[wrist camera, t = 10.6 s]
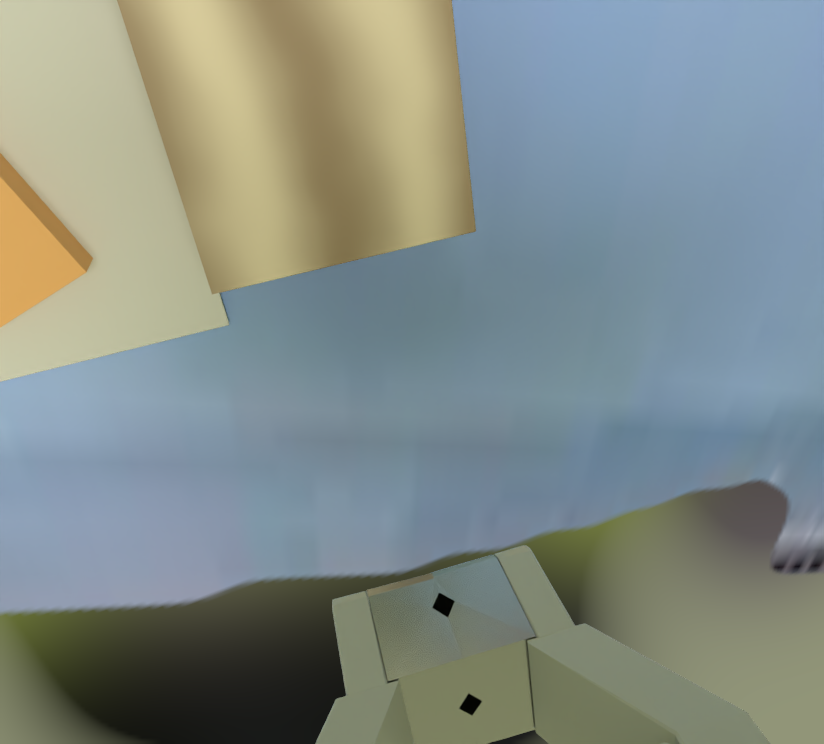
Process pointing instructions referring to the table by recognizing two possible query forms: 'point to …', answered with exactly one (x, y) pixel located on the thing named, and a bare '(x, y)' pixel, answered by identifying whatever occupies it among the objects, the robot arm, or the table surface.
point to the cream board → (95, 188)
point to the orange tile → (32, 248)
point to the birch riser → (306, 128)
